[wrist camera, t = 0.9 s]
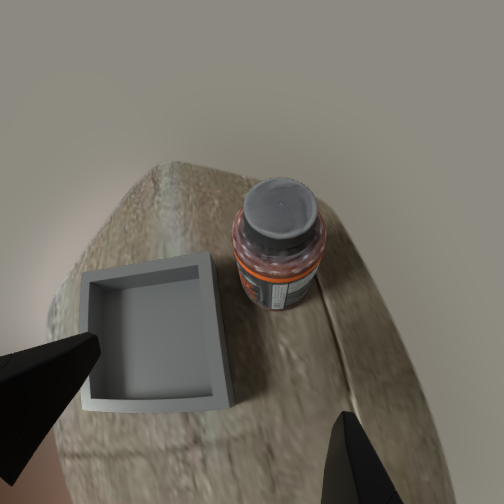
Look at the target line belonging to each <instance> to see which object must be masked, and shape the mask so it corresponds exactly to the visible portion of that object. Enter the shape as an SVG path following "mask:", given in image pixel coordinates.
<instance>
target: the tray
mask: <svg viewBox="0 0 504 504" xmlns="http://www.w3.org/2000/svg"><path fill="white" fill-rule="evenodd" d="M85 332H92V333H94V334H96V335H97V336H98V338H99V343H100V348H101V355H100V358H99V359H98V361H97V362H96V364H95V366H94V367H93V369H92V371H91V372H90V374H89V376H88V377H87V379H86V381H85V382H84V384H83V385H82V387H81V400H82V410H90V411H103V412H123V413H173V412H194V411H208V410H219V409H229V408H231V407H233V406H235V400H234V394H233V387H232V381H231V374H230V367H229V361H228V354H227V346H226V339H225V332H224V324H223V316H222V309H221V301H220V292H219V284H218V275H217V268H216V266H215V263H214V261H213V258H212V256H211V254H210V251H208V252H202V253H196V254H190V255H184V256H178V257H172V258H166V259H160V260H154V261H148V262H142V263H136V264H130V265H125V266H119V267H113V268H107V269H101V270H96V271H90V272H84V273H82V277H81V289H80V305H79V334H81V333H85Z"/></svg>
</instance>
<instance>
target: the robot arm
mask: <svg viewBox="0 0 504 504" xmlns="http://www.w3.org/2000/svg"><path fill="white" fill-rule="evenodd" d="M100 355H101V348H100V343H99V338H98V336H97V335H96V334H94V333H92V332H85V333H81V334H78V335H75V336H71V337H68V338H65V339H61V340H58V341H54V342H51V343H47V344H44V345H41V346H37V347H33V348H30V349H26V350H23V351H19V352H15V353H13V354H12V353H11V354H8V355H4V356H0V477H1V478H2V479H3V480H4V481H5V482H6V483H8V484H9V485H10V486H13V485H14V483H15V482H16V480H17V479H18V477H19V475H20V474H21V472H22V471H23V469H24V468H25V466H26V465H27V463H28V461H29V460H30V459H31V457H32V456H33V454H34V452H35V451H36V450H37V448H38V446H39V445H40V444H41V442H42V441H43V439H44V438H45V436H46V435H47V434H48V432H49V431H50V429H51V428H52V427H53V425H54V424H55V422H56V421H57V419H58V418H59V417H60V415H61V414H62V413H63V411H64V410H65V408H66V407H67V406H68V404H69V403H70V402H71V400H72V399H73V398H74V396H75V395H76V394H77V392H78V391H79V390H80V388H81V387H82V385H83V384H84V382H85V381H86V379H87V377H88V376H89V374H90V372H91V371H92V369H93V367H94V366H95V364H96V362H97V361H98V359H99V358H100ZM321 504H404V503H403V501H402V500H401V498H400V496H399V494H398V492H397V491H396V490H395V487H394V485H393V483H392V481H391V479H390V477H389V475H388V474H387V472H386V470H385V468H384V466H383V464H382V463H381V461H380V459H379V457H378V455H377V453H376V451H375V450H374V448H373V446H372V444H371V442H370V440H369V439H368V437H367V435H366V433H365V431H364V429H363V428H362V426H361V424H360V422H359V420H358V418H357V417H356V415H355V413H353V412H348V411H342V412H341V413H340V415H339V417H338V418H337V420H336V422H335V423H334V425H333V428H332V432H331V437H330V443H329V448H328V453H327V458H326V463H325V468H324V478H323V488H322V498H321Z"/></svg>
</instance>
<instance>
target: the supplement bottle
mask: <svg viewBox="0 0 504 504" xmlns="http://www.w3.org/2000/svg"><path fill="white" fill-rule="evenodd" d="M231 238H232V246H233V252H234V256H235V258H236V263H237V267H238V271H239V275H240V279H241V283H242V287H243V289H244V291H245V293H246V295H247V296H248V298H249V299H250V300H251V301H252V302H253V303H254V304H256V305H257V306H259V307H261V308H262V309H265V310H269V311H283V310H287V309H290V308H292V307H294V306H296V305H297V304H298V303H300V302H301V301H302V300H303V298H304V297H305V295H306V294H307V292H308V290H309V288H310V286H311V283H312V281H313V278H314V276H315V273H316V271H317V269H318V266H319V264H320V261H321V258H322V256H323V253H324V250H325V246H326V241H327V231H326V226H325V222H324V220H323V218H322V216H321V214H320V212H319V211H318V204H317V200H316V198H315V196H314V194H313V192H311V190H310V189H309V188H308V187H306V186H305V185H304V184H303V183H300V182H298V181H296V180H294V179H290V178H283V177H282V178H281V177H277V178H269V179H267V180H264V181H261V182H259V183H258V184H256V185H255V186H254V187H252V188H251V189H250V191H249V192H248V193H247V195H246V197H245V200H244V205H243V207H242V208H241V209H240V211H239V212H238V213H237V215H236V217H235V219H234V222H233V226H232V232H231Z"/></svg>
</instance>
